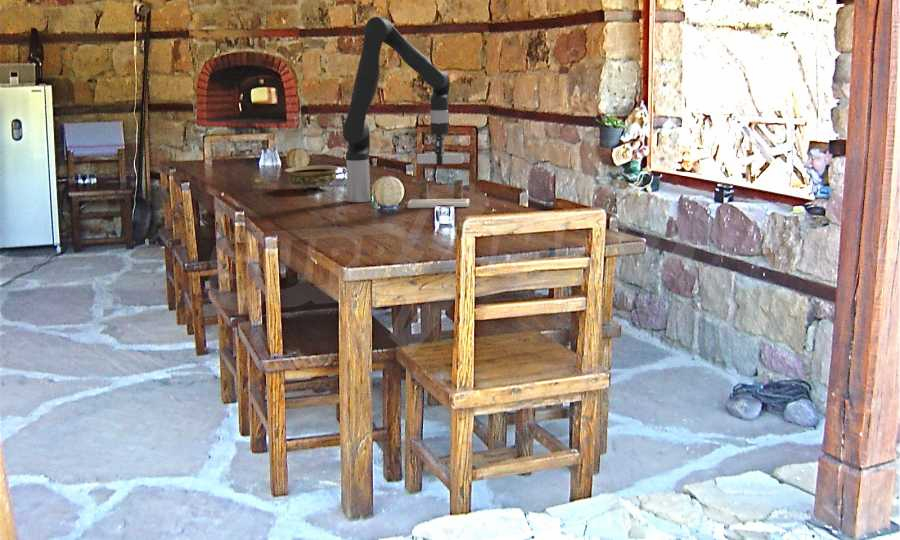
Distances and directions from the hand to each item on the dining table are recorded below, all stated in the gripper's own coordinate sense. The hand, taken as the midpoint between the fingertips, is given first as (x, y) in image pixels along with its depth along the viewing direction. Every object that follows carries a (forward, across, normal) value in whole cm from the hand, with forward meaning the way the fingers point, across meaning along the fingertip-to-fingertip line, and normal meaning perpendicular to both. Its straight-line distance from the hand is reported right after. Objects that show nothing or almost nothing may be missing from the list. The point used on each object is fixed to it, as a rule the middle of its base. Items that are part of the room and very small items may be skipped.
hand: (440, 164), depth 391 cm
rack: (+15, 0, 0) cm, 15 cm away
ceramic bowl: (+17, -40, -63) cm, 76 cm away
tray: (+15, +10, 0) cm, 18 cm away
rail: (-1, 0, 0) cm, 1 cm away
